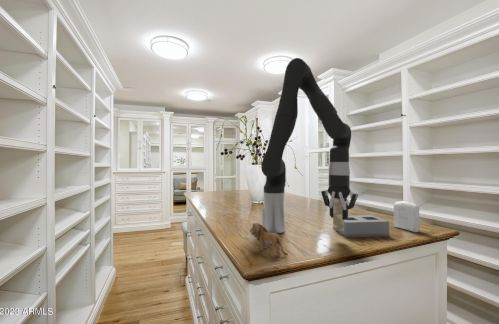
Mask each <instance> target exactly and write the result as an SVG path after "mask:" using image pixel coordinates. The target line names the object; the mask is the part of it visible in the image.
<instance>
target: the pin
mask: <svg viewBox="0 0 499 324" xmlns="http://www.w3.org/2000/svg"><path fill="white" fill-rule="evenodd" d="M342 201H343V200H342ZM343 210H344V209H343V206H342V204H341V200H340V199H337V198H334V202H333V218H332V229H333V231H336V232H337V231H344V220H343Z"/></svg>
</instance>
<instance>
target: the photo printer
mask: <svg viewBox="0 0 499 324" xmlns="http://www.w3.org/2000/svg"><path fill="white" fill-rule="evenodd" d="M393 227H395V228H397V229H403V230H406V231H409V232H410V231H411V232H413V233H419V232H420V207H419V205H418V204H415V203H414V202H410V201H403V200H402V201H396V202H394V203H393Z"/></svg>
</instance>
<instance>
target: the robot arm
mask: <svg viewBox="0 0 499 324" xmlns="http://www.w3.org/2000/svg"><path fill="white" fill-rule="evenodd" d="M299 89H300V90H301V91H302V92H303V93H304V94H305V96H306V98H307V99H308V101H309V103H310V106H311V108H312V109H313V111H314V113H315V114H316V116H317V117H318V119H319V120H320V121H321V123H322V126H323V129H324V130H325V132H326V134H327V135H328V136H329V138H330V139H332V147H330V149H329V164H328V188H327V189H326V190H322V191H321V192H320V193H321V197H322V199H323V203H324V206H326V207H328V208H329V216H330V218H331V219H333V202H334V198H337V199H340V200H341V204H342V206H343V209H344V210H343V220H346V219H347V218H348V216H349V210H351V209H353V208H355V204H356V201H357V199H358V196H359V194H358V193H357V192H356V193H354V192H352V191H351V188H350V184H351V183H350V179H351V178H350V174H351V172H350V171H351V169H350V146H351V141H352V129H351V126H350V125H348V124H347V123H346V122H344V121H343V120H342V119H341V117H340V115H338V111H337V109H336V107H335V106H334V104H333V103H332V102H331V100H330V99H329V98H328V97H327V95H326V94H325V93H324V91H322V89H321V88H320V86H319V84H318V82H317V81H316V78H315V76H314V74H313V71H312V69H311V67H310V66H309V65H308V63H307V62H306V61H305V60H304V59H302V58H301V57H295V58H292V59H291V60H290V61H289V63H287V66H286V68H285V72H284V77H283V83H282V91H281V95H280V98H279V102H278V105H277V110H276V113H275V116H274V120H273V125H272V129H271V134H270V137H269V142H268V145H267V147H266V150H265V154H264V155H263V159H262V161H261V166H260V167H261V168H260V169H261V171H262V172H261V173H262V174H263V175H264V176H265V177H266V178H265V184H264V185H263V209H261V212H262V213H261V221H262V222H261V225H262V226H263V227H265V228H266V230H267V231H268V232H269V233H276V234H281V233H284V232H285V231H286V223H285V219H286V216H285V215H286V214H285V213H286V212H285V211H286V210H285V208H286V207H285V205H286V204H285V188H286V182H287V181H286V178H287V175H286V173H287V171H286V170H287V169H286V163H285V161H284V159H283V156H284V151H285V148H286V146H287V144H288V142H289V140H290V139H291V136H292V134H293V132H294V130H295V126H296V123H297V119H298V115H299V114H298V113H299V110H298V104H299V103H298V95H299ZM329 196H330V199H329ZM348 197H349V198H350V201H348ZM342 200H343V201H342Z"/></svg>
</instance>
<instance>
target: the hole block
mask: <svg viewBox="0 0 499 324" xmlns="http://www.w3.org/2000/svg"><path fill="white" fill-rule="evenodd" d="M336 232H338V233H339V234H340V235H342V236H343V237H345V238H366V237H367V238H368V237H369V238H373V237H390V220H389V221H388V220H386V219H383V218H381V217H378V216H375V215H373V214H367V215H366V214H365V215H348V218H347V219H346V220H344V231H336Z"/></svg>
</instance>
